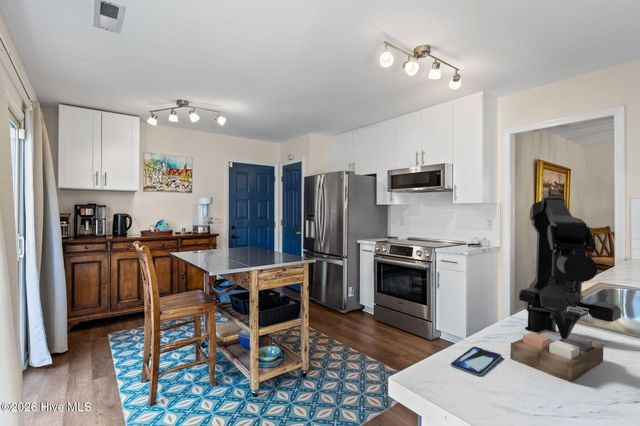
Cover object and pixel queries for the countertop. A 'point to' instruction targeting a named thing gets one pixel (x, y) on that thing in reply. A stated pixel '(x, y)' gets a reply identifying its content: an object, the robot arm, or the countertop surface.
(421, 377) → the countertop surface
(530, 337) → the peach block
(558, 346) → the key
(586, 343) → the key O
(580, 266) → the robot arm
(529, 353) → the wooden sorting tray
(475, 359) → the smartphone
